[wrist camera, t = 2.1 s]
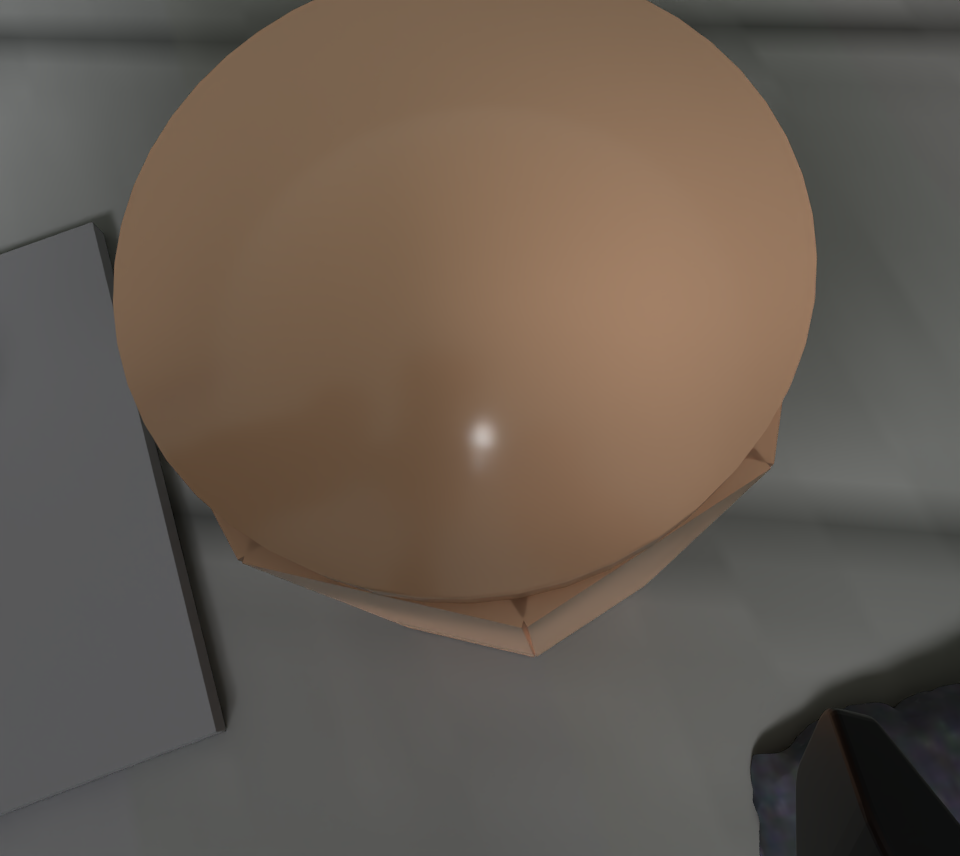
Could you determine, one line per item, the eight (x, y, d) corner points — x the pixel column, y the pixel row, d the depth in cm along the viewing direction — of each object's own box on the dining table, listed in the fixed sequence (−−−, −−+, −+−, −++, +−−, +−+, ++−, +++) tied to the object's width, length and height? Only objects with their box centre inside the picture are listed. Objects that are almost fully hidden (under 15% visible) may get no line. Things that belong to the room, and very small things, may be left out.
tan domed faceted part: (629, 679, 19) (766, 680, 7) (320, 607, 20) (7, 504, 8) (681, 379, 21) (852, 3, 9) (398, 327, 22) (235, -71, 10)
